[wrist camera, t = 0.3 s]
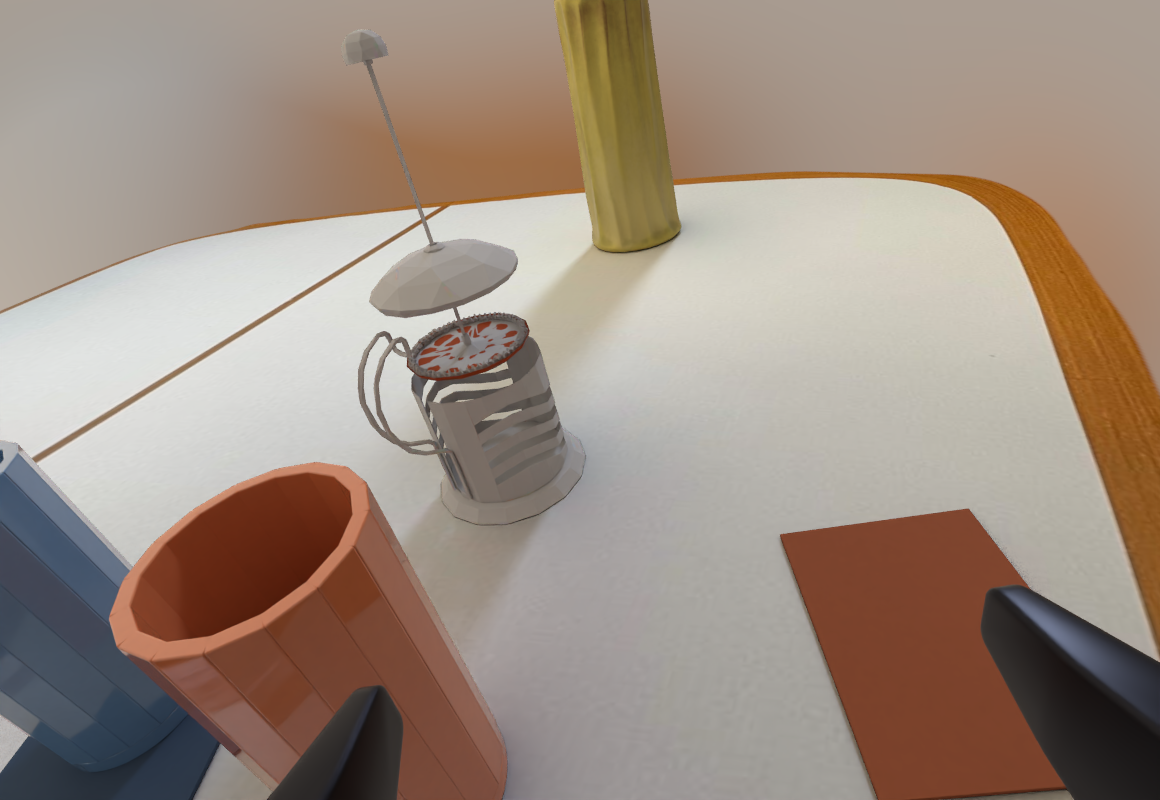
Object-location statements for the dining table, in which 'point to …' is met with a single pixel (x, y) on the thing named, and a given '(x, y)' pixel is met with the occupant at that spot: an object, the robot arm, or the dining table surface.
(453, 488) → the french press
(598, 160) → the vase
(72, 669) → the blue tumbler
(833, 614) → the clay pad
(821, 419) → the dining table surface
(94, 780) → the blue pad
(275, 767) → the terracotta tumbler
